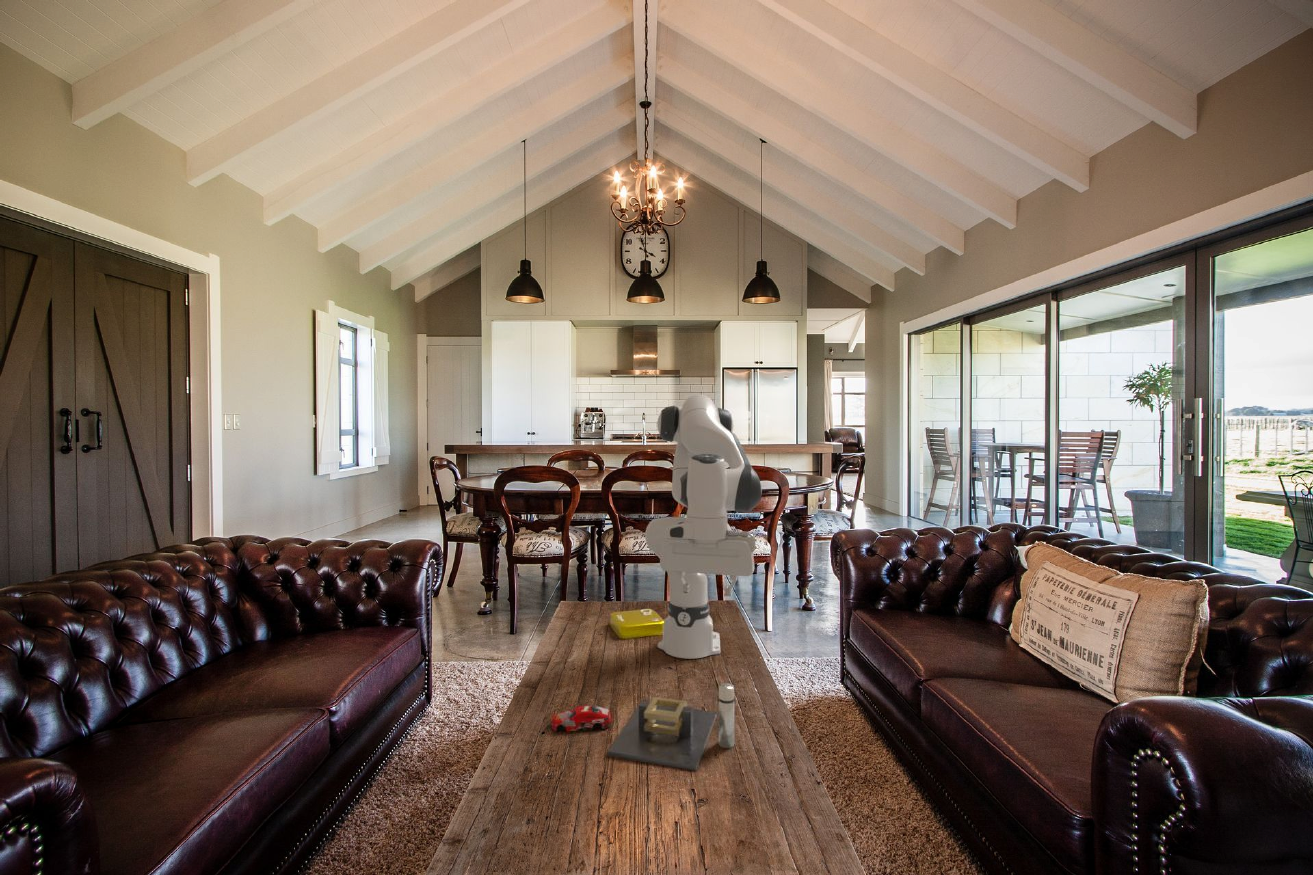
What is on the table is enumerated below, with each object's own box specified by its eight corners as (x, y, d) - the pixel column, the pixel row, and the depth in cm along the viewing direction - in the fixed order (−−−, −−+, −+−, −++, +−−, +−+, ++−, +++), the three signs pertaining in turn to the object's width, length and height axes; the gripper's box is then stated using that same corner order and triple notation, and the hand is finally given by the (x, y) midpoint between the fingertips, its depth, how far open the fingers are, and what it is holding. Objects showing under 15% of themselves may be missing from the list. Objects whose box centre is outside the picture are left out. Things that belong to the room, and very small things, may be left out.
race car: (549, 734, 126) (549, 716, 126) (551, 722, 132) (551, 704, 132) (611, 731, 127) (611, 713, 127) (611, 719, 133) (610, 701, 133)
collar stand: (641, 705, 138) (641, 680, 138) (716, 716, 133) (716, 689, 133) (607, 756, 117) (607, 725, 117) (696, 770, 112) (696, 738, 112)
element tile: (609, 625, 196) (609, 610, 196) (652, 620, 201) (652, 606, 201) (620, 640, 182) (620, 625, 182) (666, 635, 187) (666, 620, 187)
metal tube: (719, 738, 124) (719, 682, 124) (735, 740, 123) (735, 683, 123) (716, 747, 121) (716, 688, 120) (733, 749, 120) (733, 690, 120)
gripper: (757, 529, 127) (757, 594, 127) (665, 525, 133) (665, 587, 133) (753, 533, 121) (753, 601, 121) (658, 529, 127) (657, 593, 126)
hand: (706, 594), depth 127 cm, fingers open, 8 cm apart
